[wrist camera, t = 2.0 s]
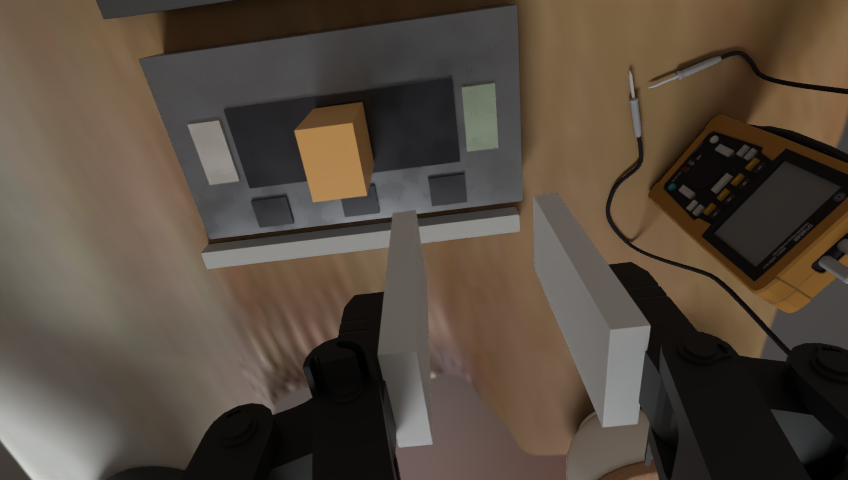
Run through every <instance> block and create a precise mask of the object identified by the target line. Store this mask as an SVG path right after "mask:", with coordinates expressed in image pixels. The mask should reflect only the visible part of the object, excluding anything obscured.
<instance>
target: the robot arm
mask: <svg viewBox="0 0 848 480" xmlns="http://www.w3.org/2000/svg"><path fill="white" fill-rule="evenodd" d="M533 212H534V269H535V271H536V273H537V276H538V278H539V280H540V283H541V285H542V287H543V290H544V292H545V294H546V297H547V299H548V301H549V304H550V306H551V308H552V311H553V313H554V315H555V318H556V320H557V322H558V325H559V327H560V329H561V332H562V334H563V336H564V339H565V341H566V343H567V346H568V348H569V350H570V353H571V355H572V357H573V360H574V362H575V364H576V367H577V369H578V371H579V374H580V376H581V378H582V381H583V383H584V385H585V388H586V390H587V393H588V395H589V397H590V400H591V402H592V404H593V407H594V409H595V411H596V414H597V416H598V418H599V421H600V423H601V425H602V427H612V426H622V425H632V424H638V418H639V410H640V406H641V408H642V410H643V411H644V413H645V415H646V417H647V419H648V421H649V422H650V423H649V430H648V436H647V443H646V450H645V466H651V459H652V456H653V460H654V463H655V467H656V470H657V474H658V477H659V480H848V350H846V349H843V348H841V347H838V346H832V345H827V344H822V343H805V344H802V345H798V346H796V347H794V348H793V349H792V350H791V351H790V352H789V354H788V357H787V360H786V362H784V361H775V360H767V359H758V358H750V357H745V356H739V355H738V354H737V352H736V351H735V350H734V349H733V348H732V347H731V346H730V345H729V344H728V343H726V342H724V341H723V340H721V339H719V338H718V337H715V336H712V335H710V334H707V333H704V332H698V331H697V330H696V329H695V328H694V327H693V325H692V324H691V323H690V322H689V321H688V319H687V318H686V317H685V316H684V315H683V313H682V312H681V311H680V310H679V308H678V307H677V306H676V305H675V304H674V302H673V301H672V300H671V299H670V298H669V297H667V295H666V293H665V292H664V290H663V289H662V288H661V287H660V286H658V283H657V282H656V281H655V280H654V278H653V277H652V276H651V275H650V273H649V272H648V271H646V270H644V269H643V268H641V267H639V266H637V265H636V264H634V263H632V262H627V263H618V264H610V265H608V264H607V262H606V261H605V260H604V258H603V257H602V255H601V254H600V252H599V251H598V250H597V248H596V247H595V245H594V244H593V243H592V241H591V240H590V238H589V237H588V235H587V234H586V233H585V231H584V230H583V228H582V227H581V225H580V224H579V223H578V221H577V220H576V218H575V217H574V216H573V214H572V213H571V211H570V210H569V208H568V207H567V206H566V204H565V203H564V201H563V200H562V198H561V197H560V196H559V194H558V193H550V194H542V195H533ZM341 322H342V324H341V325H340V329H339V335H338V338H335V339H332V340H329V341H326V342H324V343H322V344H321V345H319V346H318V347H316V348H315V349H313V350H312V351H311V353H310V354H309V355H308V356H307V357H306V359H305V362H304V365H303V370H304V373H305V376H306V379H307V382H308V385H309V388H310V391H311V394H312V397H313V398H311V399H310V400H308V401H307V402H305V403H303V404H301V405H298V406H296V407H294V408H291V409H289V410H286V411H283V412H280V413H277V414H275V415H272V412H271V410H270V409H269V408H267V407H266V406H264V405H263V404H253V403H250V404H246V405H241V406H237V407H235V408H233V409H231V410H229V411H227V412H225V413H224V414H223V415H221V416H220V417H219V418H218V419H217V420H215V421H214V422H213V423H212V425H211V426H210V427H209V429H208V430H207V431H206V433H205V435H204V437H203V438H202V440H201V442H200V444H199V446H198V448H197V450H196V452H195V453H194V455H193V457H192V459H191V461H190V463H189V465H188V467H187V468H186V470H185V472H183V471H178V470H173V469H167V468H138V469H132V470H128V471H124V472H121V473H119V474H116V475H114V476H113V477H111V478H110V479H108V480H401V478H400V472H399V467H398V462H397V458H396V454H395V448H396V446H395V445H396V437H397V441H398V446H399V447H410V446H419V445H430V444H433V440H432V412H431V384H430V357H429V329H428V302H427V279H426V273H425V266H424V259H423V253H422V246H421V239H420V233H419V226H418V219H417V213H416V210H412V211H404V212H396V213H393V214H392V223H391V233H390V242H389V252H388V261H387V270H386V280H385V289H384V292H378V293H370V294H361V295H354V297H353V298H352V299H351V300H350V301H349V303H348V304H347V305H346V306H345V308H344V312H343V316H342V320H341Z"/></svg>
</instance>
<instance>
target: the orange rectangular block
mask: <svg viewBox="0 0 848 480" xmlns="http://www.w3.org/2000/svg"><path fill="white" fill-rule="evenodd" d="M294 132H295V135H296V139H297V143H298V147H299V151H300V154H301V158H302V162H303V166H304V169H305V173H306V177H307V181H308V185H309V188H310V192H311V196H312V200H313V202H320V201H328V200H336V199H344V198H352V197H360V196H367V194H368V190H369V186H370V182H371V177H372V173H373V169H374V160H373V155H372V150H371V144H370V139H369V134H368V128H367V123H366V118H365V112H364V107H363V102H359V103H351V104H344V105H337V106H329V107H322V108H315V109H313V110H312V111H311V112H310V113H309V114H308V115H307V117H306V118H305V119H304V120H303V121H302V122H301V123H300V125H299V126H298V127H297V128H296V129H295V130H294Z"/></svg>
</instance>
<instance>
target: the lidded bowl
mask: <svg viewBox="0 0 848 480" xmlns="http://www.w3.org/2000/svg"><path fill="white" fill-rule="evenodd" d="M649 423H650V422H649V421H648V419H647V417H646V415H645V413H644V411H643V410H639V418H638V424H632V425H622V426H612V427H602V425H601V423H600V421H599V418H598V416H597V414H596V411H594V412H592V413H591V414H589V415H588V416H587V417H586V418H585V419H584V420H583V421H582V422H581V424H580V426H579V428H578V431H577V432H576V434H575V436H574V437H573V439H572V441H571V444H570V446H569V449H568V453H567V462H566V475H567V480H659V477H658V474H657V470H656V467H655V463H654V460H653V456H652V459H651V466H645V450H646V443H647V436H648V430H649Z"/></svg>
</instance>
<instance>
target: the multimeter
mask: <svg viewBox="0 0 848 480" xmlns="http://www.w3.org/2000/svg"><path fill="white" fill-rule="evenodd" d="M734 55H740V56H742V57H744V59H745V60H746V61H747V62H748V63H749V64H750V66H751V68H752V69H753V71H754V72H755V74H756V75H757V76H759V77H761V78H762V79H764V80H767V81H770V82H773V83H777V84H782V85H787V86H792V87H798V88H805V89H812V90H820V91H827V92H835V93H842V94H848V89H843V88H835V87H827V86H819V85H810V84H803V83H796V82H790V81H785V80H780V79H776V78H772V77H769V76H766V75H765V74H763V73H761V72H760V71H759V70H758V68H757V67H756V65H755V63H754V62H753V60H752V59H751V58H750V57H749V56H748V55H747V54H746V53H744V52H741V51H734V52H730V53H727V54H724V55H722V56H717V57H713V58H710V59H708V60H705V61H703V62H700V63H698V64H696V65H693V66H691V67H688V68H686V69H684V70H681V71H676V75H675V76H673V77H670V78H668V79H665V80H663V81H661V82H658V83H656V84H653V85H652V86H650V87H649V88H653V87H656V86H659V85H661V84H663V83H666V82H668V81H670V80H673V79H675V78H677V79H678V80H681V79H682V78H683V77H686V76H688V75H691V74H693V73H695V72H698V71H700V70H703V69H705V68H707V67H710V66H712V65H714V64H716V63H718V62H720V61H721V60H722V59H725V58H727V57H730V56H734ZM629 80H630V87H631V95H632V98H631V99H629V102H630V104H631V112H632V119H633V127H634V132H635V135H636V137H637V141H638V148H639V162H638V164H637V166H636V167H635V168H634V169H633V170H631V171H630V172H629V173H628V174H626V175H625V176H624V177H622V178H621V179H620V180H619V181H618V182H617V183H616V185H615V186H614V187H613V189H612V191H611V193H610V196H609V199H608V202H607V206H606V216H607V220H608V222H609V224H610V226H611V227H612V229H613V230H614V231H615V233H616V234H617V235H618V236H619V237H620V238H621V239H622V240H623V241H624V242H625V243H626V244H627V245H629V246H630V247H631V248H633V249H635V250H636V251H638V252H640V253H642V254H644V255H646V256H649V257H651V258H654V259H657V260H659V261H662V262H665V263H668V264H671V265H675V266H678V267H681V268H684V269H687V270H691V271H694V272H697V273H700V274H703V275H705V276H708V277H710V278H711V279H713V280H715V281H716V282H717V283H718V284H719V285H720V286H721V287H723V288H724V289H725V290H726V291H727V292H728V293H729V294H730V295H731V296H732V297H733V298H734V299H735V300H736V301H737V302H738V303H739V304H740V305H741V306H742V307H743V308H744V309H745V310H746V312H747V313H748V314H749V315H750V316H751V317H752V318H753V319H754V320H755V321H756V322H757V323H758V325H759V326H760V327H761V328H762V329H763V330H764V331H765V332H766V333H767V334H768V335H769V336H770V337H771V338H772V340H773V341H774V342H775V343H776V344H777V345H778V346H779V347H780V348H781V349H782V350H783V351H784V352H785V353H786V354H787V355H788V354H789V352H790V350H789V349H788V348H787V347H786V346H785V345H784V344H783V342H782V341H781V340H779V338H778V337H777V336H776V335H775V334H774V333H773V332H772V331H771V330H770V329H769V328H768V327H767V326H766V325H765V323H764V322H763V321H762V320H761V319H760V318H759V317H758V316H757V315H756V314H755V313H754V312H753V311H752V310H751V309H750V308H749V307H748V305H747V304H746V303H745V302H744V301H743V300H742V299H741V298H740V297H739V296H738V295H737V294H736V293H735V292H734V291H733V290H732V289H731V288H730V287H728V286H727V285H726V284H725V283H724V282H723V281H722V280H720V279H719V278H718V277H716V276H714V275H713V274H711V273H708V272H706V271H703V270H700V269H697V268H694V267H690V266H687V265H683V264H680V263H677V262H673V261H670V260H667V259H664V258H661V257H658V256H655V255H652V254H650V253H647V252H645V251H643V250H641V249H639V248H637V247H635V246H634V245H632V244H631V243H630V242H629V241H627V240H626V239H625V238H624V237H623V236H622V235H621V234H620V233H619V231H618V230H617V229H616V228H615V226H614V225H613V223H612V221H611V218H610V212H609V211H610V204H611V201H612V198H613V195H614V193H615V191H616V189H617V188H618V186H619V185H620V184H621V183H622V182H623V181H624V180H626V179H627V178H628V177H629V176H631V175H632V174H633V173H635V172H636V171H637V170H638V169H639V168H640V166H641V164H642V162H643V149H642V141H641V121H640V113H639V105H638V100H639V98H638V97H635V93H634V86H633V78H632V74H631V71H630V72H629ZM648 197H649V200H650V201H652V202H653V203H654V204H655V205H656V206H658V207H659V208H660V209H661V210H662V211H663V212H664V213H665V214H666V215H667V216H668V217H669V218H670V219H671V220H673V221H674V222H675V223H676V224H677V225H678V226H679V227H680V228H681V229H682V230H683V231H684V232H685V233H686V234H688V235H689V236H690V237H691V238H692V239H693V240H694V241H695V242H697V243H698V244H699V245H700V246H701V247H702V248H703V249H704V250H705V251H707V252H708V253H709V254H710V255H711V256H712V257H713V258H714V259H716V260H717V261H718V262H719V263H720V264H721V265H722V266H723V267H724V268H726V269H727V270H728V271H729V272H730V273H731V274H732V275H733V276H735V277H736V278H737V279H738V280H739V281H740V282H741V283H742V284H743V285H745V286H746V287H747V288H748V289H749V290H750V291H751V292H752V293H754V294H755V295H757V296H759V297H760V298H762V299H764V300H765V301H767V302H769V303H770V304H772V305H774V306H775V307H777V308H779V309H780V310H782V311H784V312H786V313H792V312H794V311H797V310H799V309H801V308H802V307H803V306H805V305H806V304H807V303H809V302H810V301H811V300H812V298H813V297H814V296H815V295H816V294H818V293H819V292H820V291H821V290H822V289H824V288H825V287H826V286H827V285H828V284H829V283H831V282H832V281H833V280H834V279H835V278H836V277H838V278H839V279H840V280H842V281H843V282H845V283H846V284H848V154H846V153H844V152H842V151H840V150H838V149H836V148H834V147H832V146H830V145H827V144H825V143H822V142H820V141H817V140H814V139H812V138H809V137H807V136H804V135H802V134H799V133H797V132H794V131H790V130H786V129H781V128H776V127H771V126H756V125H750V124H749V125H748V124H746V123H743V122H740V121H738V120H735V119H732V118H730V117H727V116H726V115H724V114H721V115H718V116H716V117H714V118H713V119H712V120H711V121H710V122H709V123H708V124H707V125H706V126H705V128H704V130H703V132H702V133H701V134H700V135H699V136H698V137H697V138H696V140H695V141H694V142H693V143H692V144H691V145H690V147H689V148H688V149H687V150H686V151H685V152H684V153H683V155H682V156H681V157H680V158H679V159H678V160H677V162H676V163H675V164H674V165H673V166H672V167H671V168H670V170H669V171H668V172H667V173H666V174H665V175H664V177H663V178H662V179H661V180H660V181H659V182H657V183H656V184H655V185H654V187H653V188H652V189H651V190H650V192H649V195H648Z"/></svg>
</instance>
